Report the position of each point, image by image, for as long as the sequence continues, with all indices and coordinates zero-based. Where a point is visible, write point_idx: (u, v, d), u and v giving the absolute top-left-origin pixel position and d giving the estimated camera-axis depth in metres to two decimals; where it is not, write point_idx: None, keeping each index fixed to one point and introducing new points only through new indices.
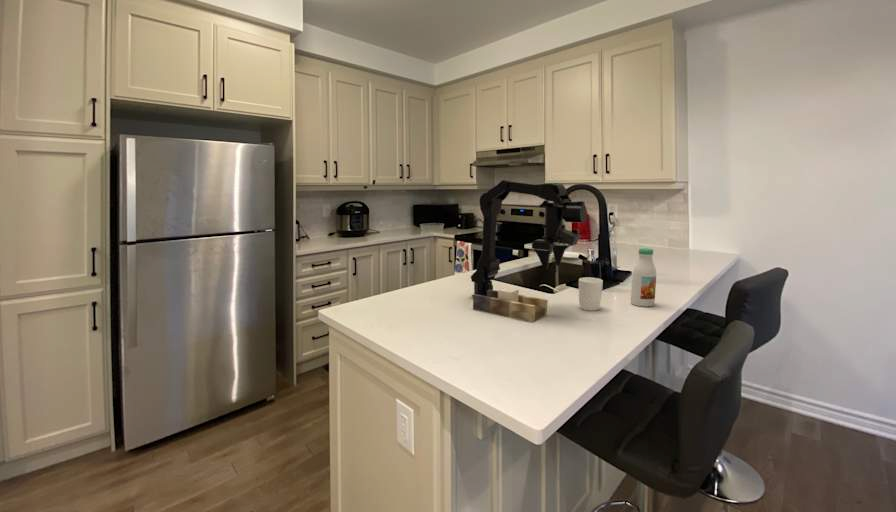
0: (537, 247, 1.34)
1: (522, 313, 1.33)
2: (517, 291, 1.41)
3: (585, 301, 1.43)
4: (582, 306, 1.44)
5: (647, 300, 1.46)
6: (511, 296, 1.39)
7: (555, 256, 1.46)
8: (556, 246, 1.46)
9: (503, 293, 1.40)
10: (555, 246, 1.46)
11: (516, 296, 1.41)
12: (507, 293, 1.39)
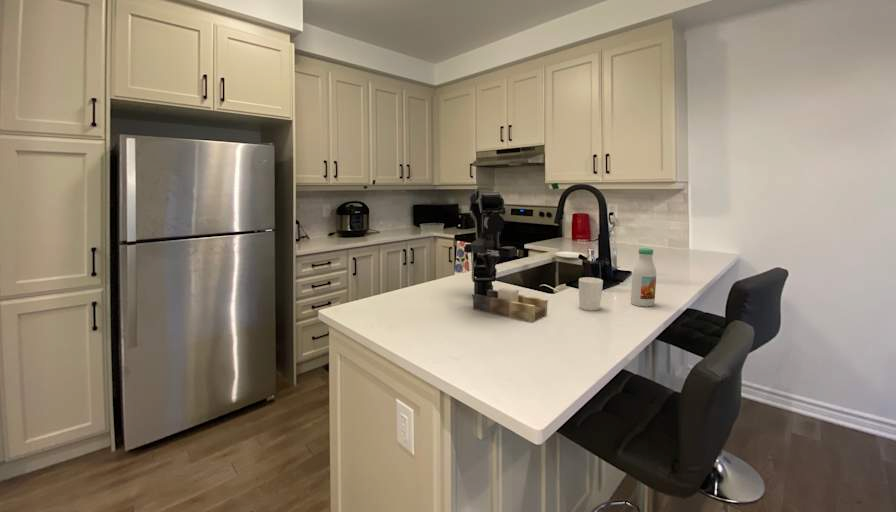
0: None
1: (522, 313, 1.33)
2: (517, 291, 1.41)
3: (585, 301, 1.43)
4: (582, 306, 1.44)
5: (647, 300, 1.46)
6: (511, 296, 1.39)
7: None
8: None
9: (503, 293, 1.40)
10: None
11: (516, 296, 1.41)
12: (507, 293, 1.39)
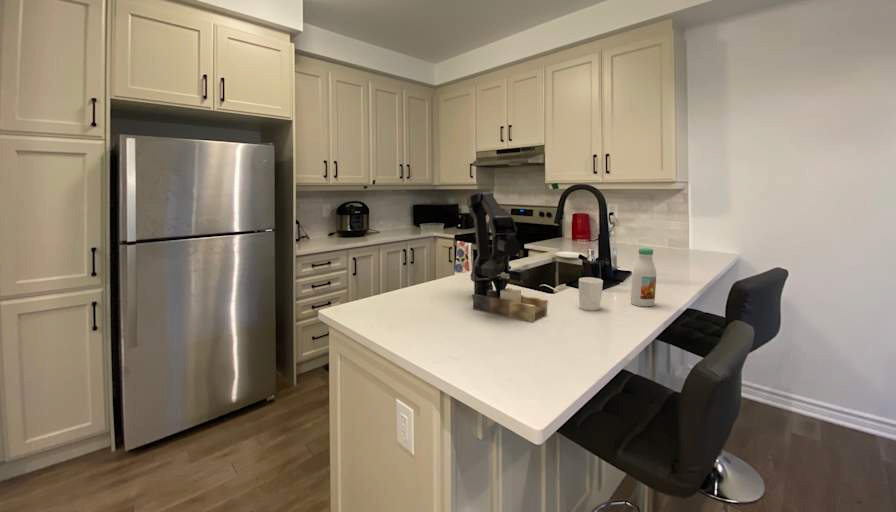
0: None
1: (522, 313, 1.33)
2: (519, 291, 1.41)
3: (585, 301, 1.43)
4: (582, 306, 1.44)
5: (647, 300, 1.46)
6: (513, 297, 1.38)
7: None
8: None
9: (506, 293, 1.39)
10: None
11: (518, 296, 1.41)
12: (509, 293, 1.38)
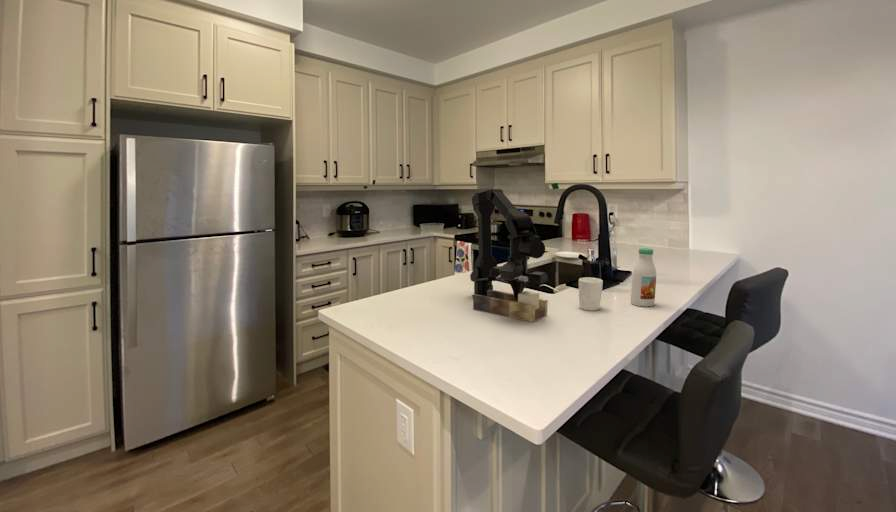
0: None
1: (522, 313, 1.33)
2: (538, 295, 1.37)
3: (585, 301, 1.43)
4: (582, 306, 1.44)
5: (647, 300, 1.46)
6: (532, 300, 1.34)
7: None
8: None
9: (524, 296, 1.35)
10: None
11: (537, 300, 1.36)
12: (528, 297, 1.34)
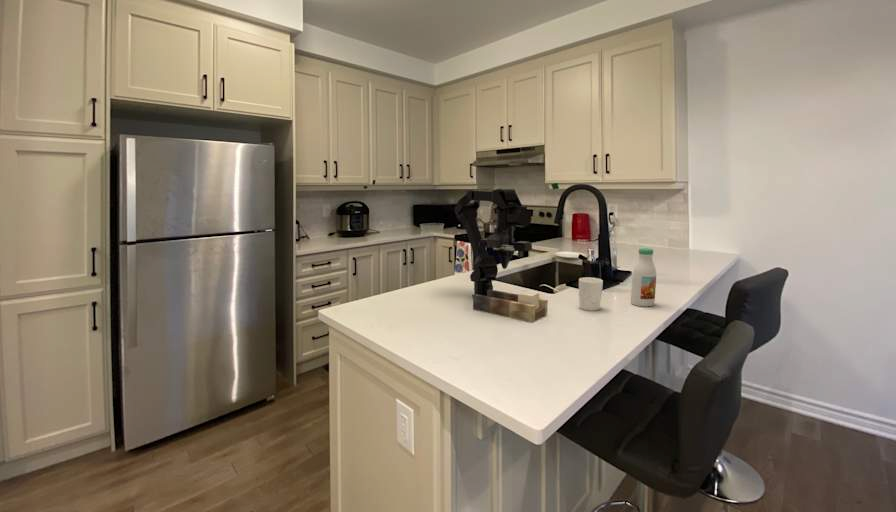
0: None
1: (522, 313, 1.33)
2: (538, 295, 1.37)
3: (585, 301, 1.43)
4: (582, 306, 1.44)
5: (647, 300, 1.46)
6: (532, 300, 1.34)
7: None
8: None
9: (524, 296, 1.35)
10: None
11: (537, 300, 1.36)
12: (528, 297, 1.34)
